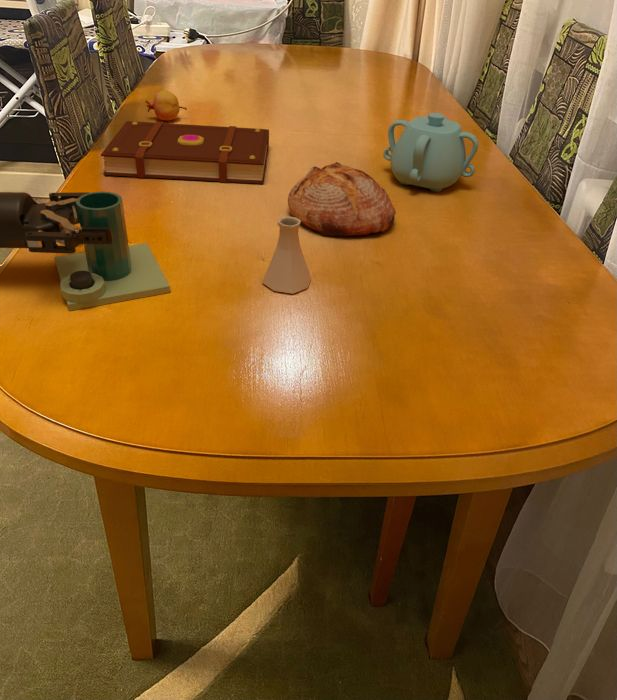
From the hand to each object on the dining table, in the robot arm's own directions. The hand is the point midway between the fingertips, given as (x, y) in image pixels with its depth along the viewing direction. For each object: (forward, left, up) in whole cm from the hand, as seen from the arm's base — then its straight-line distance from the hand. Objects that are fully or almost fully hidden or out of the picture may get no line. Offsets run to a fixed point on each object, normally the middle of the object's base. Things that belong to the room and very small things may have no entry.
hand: (117, 221), depth 84 cm
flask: (+22, -9, -9) cm, 26 cm away
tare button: (-6, -4, -7) cm, 10 cm away
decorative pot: (+66, +19, -9) cm, 69 cm away
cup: (-2, +1, -8) cm, 8 cm away
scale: (-2, +1, -9) cm, 9 cm away
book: (+23, +43, -9) cm, 50 cm away
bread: (+40, +8, -9) cm, 42 cm away
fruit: (+25, +72, -9) cm, 77 cm away
